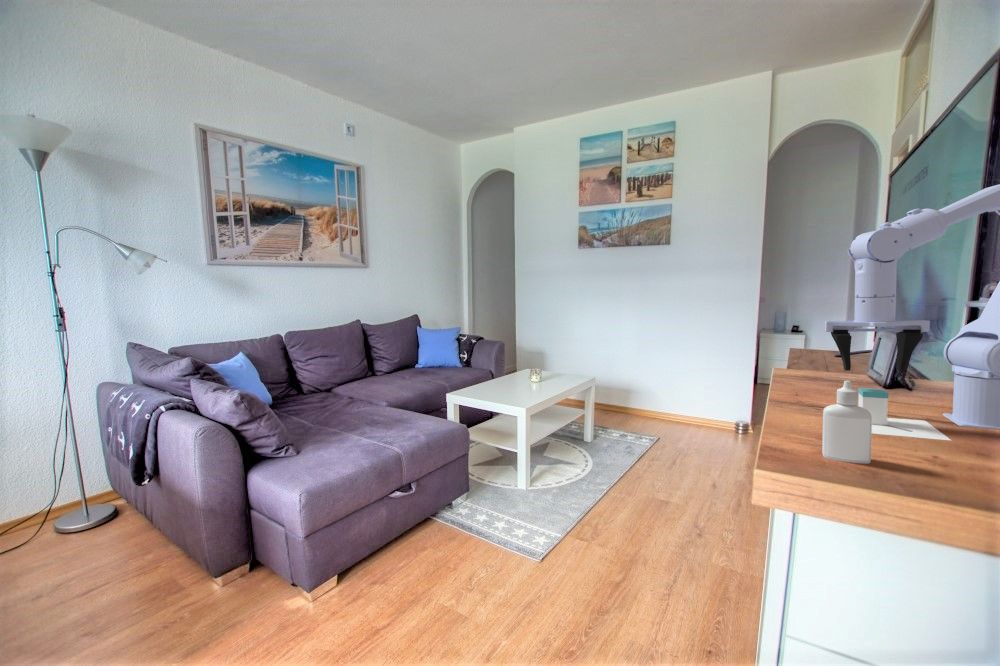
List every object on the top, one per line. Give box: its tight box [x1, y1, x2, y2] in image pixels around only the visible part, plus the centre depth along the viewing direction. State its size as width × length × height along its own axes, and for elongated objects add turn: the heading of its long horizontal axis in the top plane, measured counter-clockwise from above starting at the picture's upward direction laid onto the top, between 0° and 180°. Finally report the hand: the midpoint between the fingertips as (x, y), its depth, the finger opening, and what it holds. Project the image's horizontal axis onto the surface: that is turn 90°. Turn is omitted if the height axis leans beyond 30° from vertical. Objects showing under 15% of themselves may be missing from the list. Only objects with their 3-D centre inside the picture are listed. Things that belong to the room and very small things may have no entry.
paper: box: [872, 417, 953, 441], centre depth 78 cm, size 12×12×1 cm
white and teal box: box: [857, 387, 890, 425], centre depth 81 cm, size 4×4×6 cm
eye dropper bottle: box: [821, 380, 873, 465], centre depth 65 cm, size 4×6×12 cm
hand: (873, 370), depth 81 cm, fingers open, 7 cm apart
